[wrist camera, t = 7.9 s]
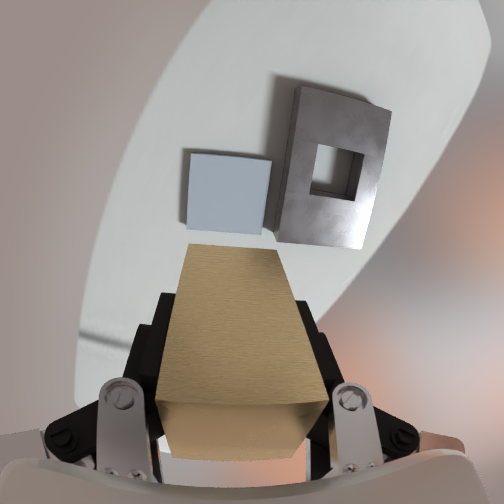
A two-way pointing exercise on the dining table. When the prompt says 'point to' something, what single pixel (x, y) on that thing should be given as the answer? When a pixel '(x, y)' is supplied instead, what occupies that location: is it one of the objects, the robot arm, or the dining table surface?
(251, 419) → the brass block
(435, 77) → the dining table surface
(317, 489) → the robot arm
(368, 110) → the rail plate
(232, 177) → the mat
